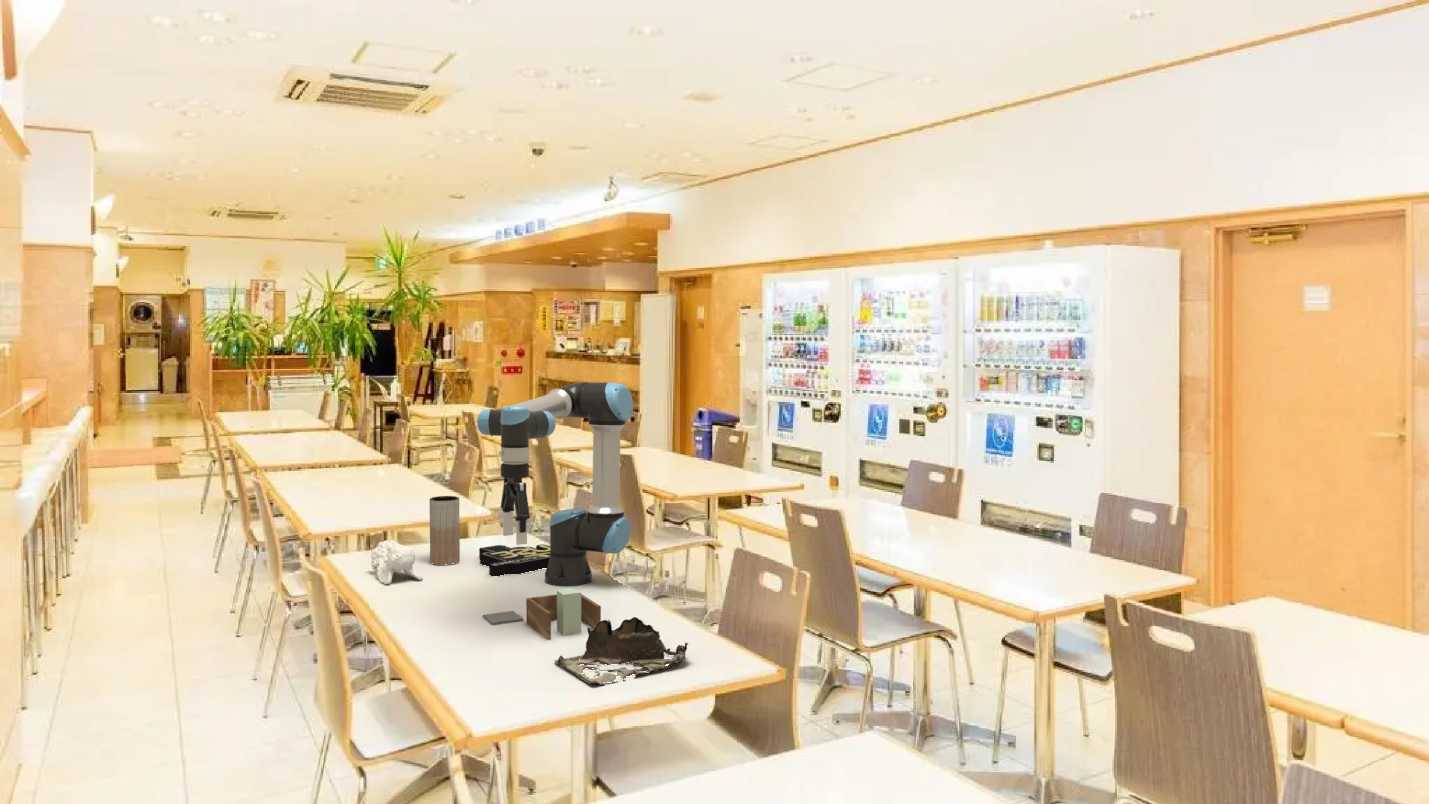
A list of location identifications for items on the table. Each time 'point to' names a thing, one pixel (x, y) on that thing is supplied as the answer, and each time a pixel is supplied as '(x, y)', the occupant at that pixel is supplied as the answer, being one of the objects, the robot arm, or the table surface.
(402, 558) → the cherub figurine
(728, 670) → the table surface
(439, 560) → the planter
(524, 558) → the sign
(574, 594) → the block
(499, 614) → the mat
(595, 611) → the brown wooden frame
